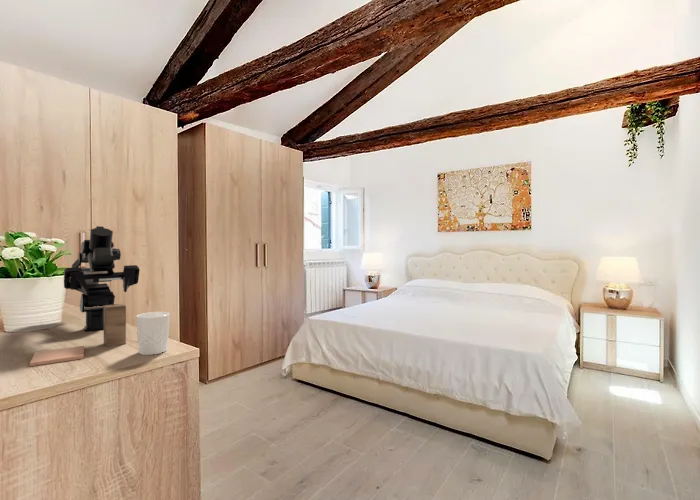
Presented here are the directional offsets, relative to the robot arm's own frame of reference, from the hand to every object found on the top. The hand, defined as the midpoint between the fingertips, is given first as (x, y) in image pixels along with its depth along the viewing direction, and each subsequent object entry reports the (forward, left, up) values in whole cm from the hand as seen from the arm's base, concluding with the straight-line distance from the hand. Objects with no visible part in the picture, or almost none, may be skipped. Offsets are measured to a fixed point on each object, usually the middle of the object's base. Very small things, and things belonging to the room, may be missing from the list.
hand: (107, 292), depth 102 cm
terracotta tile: (+9, -10, -15) cm, 20 cm away
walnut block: (+3, +2, -15) cm, 15 cm away
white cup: (+17, +10, -15) cm, 25 cm away
